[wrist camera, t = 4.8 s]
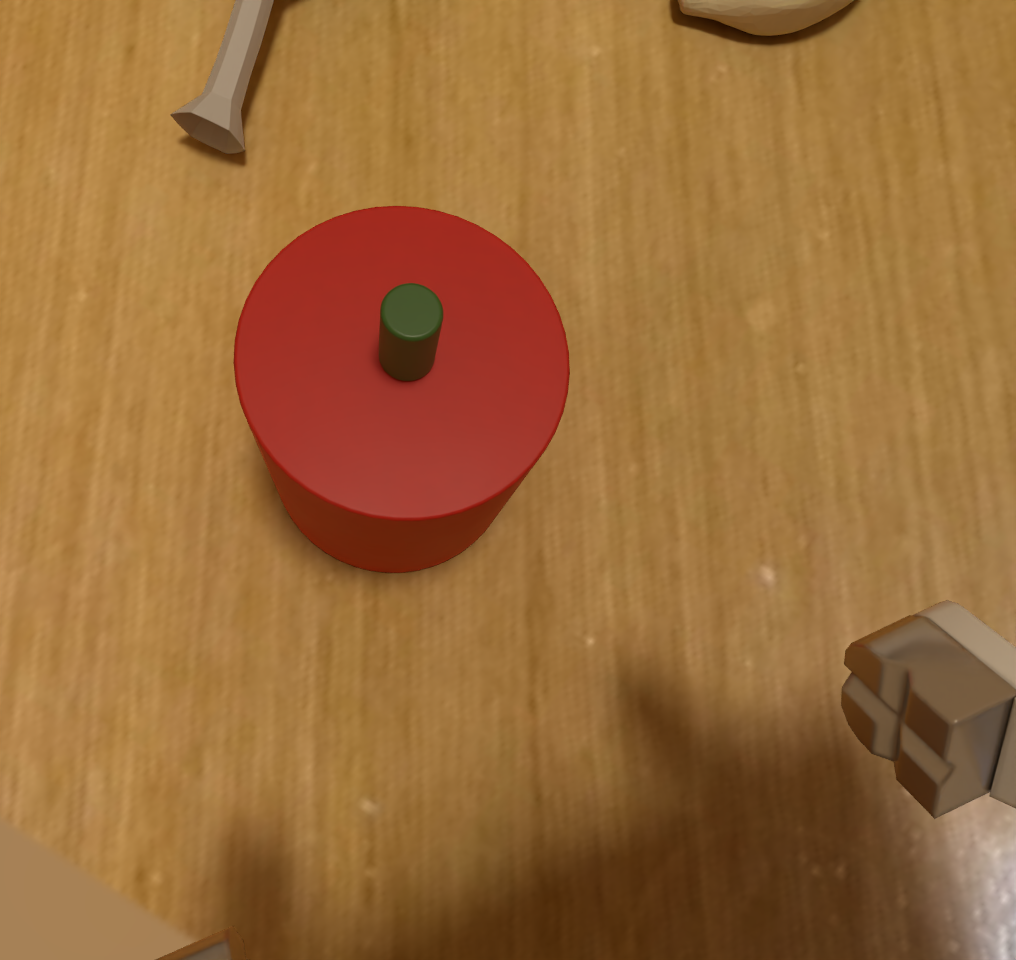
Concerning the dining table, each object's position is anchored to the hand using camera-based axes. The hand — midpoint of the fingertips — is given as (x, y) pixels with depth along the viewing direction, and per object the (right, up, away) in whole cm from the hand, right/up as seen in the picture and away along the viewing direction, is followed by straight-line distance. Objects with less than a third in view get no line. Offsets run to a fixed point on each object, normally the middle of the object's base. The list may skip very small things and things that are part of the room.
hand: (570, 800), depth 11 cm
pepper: (-4, +5, +12) cm, 13 cm away
